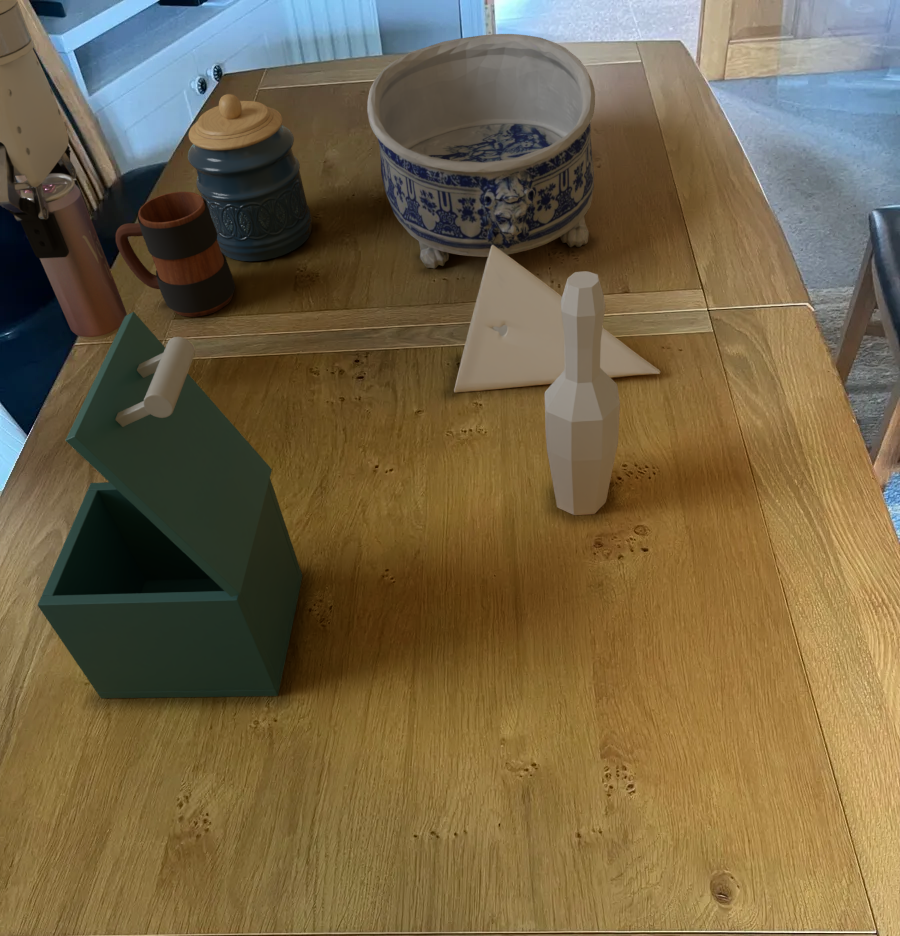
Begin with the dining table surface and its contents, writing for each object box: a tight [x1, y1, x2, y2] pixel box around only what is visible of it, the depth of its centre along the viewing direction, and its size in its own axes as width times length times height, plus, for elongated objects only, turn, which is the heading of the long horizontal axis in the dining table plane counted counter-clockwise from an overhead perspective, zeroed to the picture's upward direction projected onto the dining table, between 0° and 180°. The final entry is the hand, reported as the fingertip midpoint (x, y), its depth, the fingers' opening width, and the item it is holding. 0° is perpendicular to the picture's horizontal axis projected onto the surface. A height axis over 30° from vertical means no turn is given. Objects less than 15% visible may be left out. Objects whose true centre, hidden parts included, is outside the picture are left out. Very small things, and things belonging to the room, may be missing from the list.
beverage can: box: [20, 173, 128, 341], centre depth 94 cm, size 6×6×15 cm
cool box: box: [37, 478, 303, 699], centre depth 75 cm, size 15×13×12 cm
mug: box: [115, 191, 236, 318], centre depth 110 cm, size 9×12×12 cm
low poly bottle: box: [544, 270, 621, 516], centre depth 77 cm, size 6×6×22 cm
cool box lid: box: [65, 311, 273, 597], centre depth 63 cm, size 16×13×5 cm
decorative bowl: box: [366, 33, 596, 269], centre depth 115 cm, size 42×27×15 cm, turn 9°
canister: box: [187, 93, 313, 262], centre depth 116 cm, size 13×13×18 cm
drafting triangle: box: [453, 245, 661, 393], centre depth 96 cm, size 15×6×20 cm
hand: (64, 236), depth 92 cm, fingers closed on beverage can, 6 cm apart
